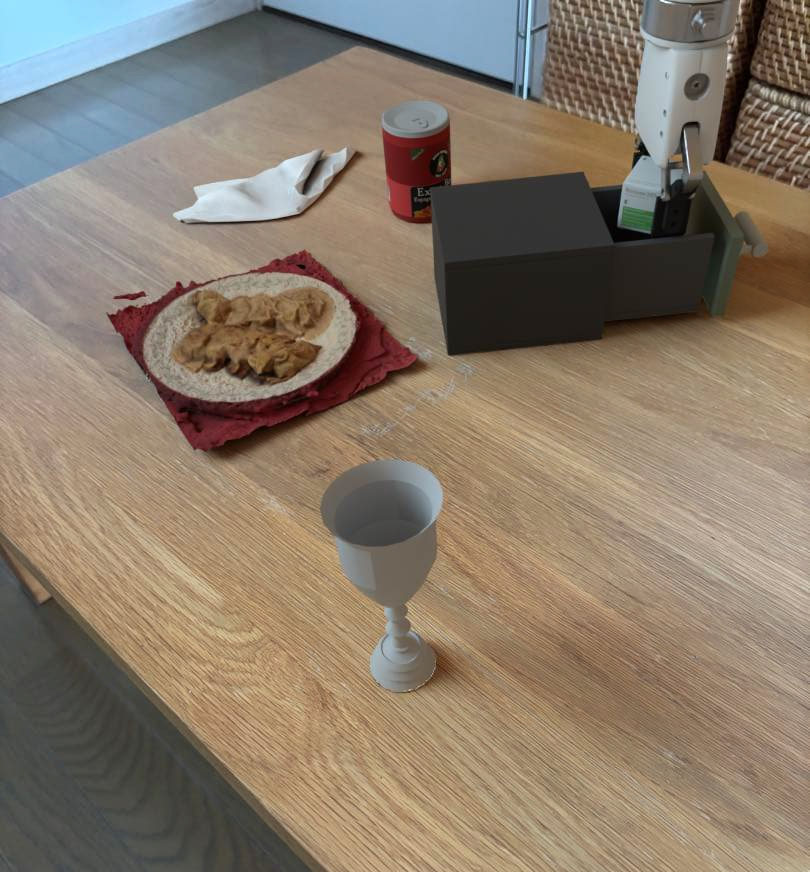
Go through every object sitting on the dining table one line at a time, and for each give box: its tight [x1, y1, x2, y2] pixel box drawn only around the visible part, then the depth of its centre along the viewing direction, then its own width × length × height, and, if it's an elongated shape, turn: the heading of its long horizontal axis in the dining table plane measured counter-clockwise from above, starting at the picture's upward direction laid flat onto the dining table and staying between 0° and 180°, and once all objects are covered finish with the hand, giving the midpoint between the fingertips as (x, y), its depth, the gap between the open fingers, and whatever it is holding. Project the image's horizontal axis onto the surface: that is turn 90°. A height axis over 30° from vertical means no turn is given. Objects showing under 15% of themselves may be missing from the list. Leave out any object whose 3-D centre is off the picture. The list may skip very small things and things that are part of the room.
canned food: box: [381, 100, 452, 224], centre depth 101 cm, size 8×8×11 cm
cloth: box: [172, 146, 358, 224], centre depth 109 cm, size 26×14×2 cm, turn 113°
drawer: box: [590, 170, 770, 322], centre depth 87 cm, size 19×12×9 cm, turn 94°
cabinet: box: [430, 171, 615, 356], centre depth 87 cm, size 16×14×11 cm
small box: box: [617, 156, 693, 234], centre depth 83 cm, size 6×6×5 cm
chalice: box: [319, 458, 444, 692], centre depth 57 cm, size 7×7×18 cm
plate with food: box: [105, 248, 418, 453], centre depth 88 cm, size 24×26×4 cm
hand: (656, 211), depth 84 cm, fingers closed on small box, 7 cm apart
